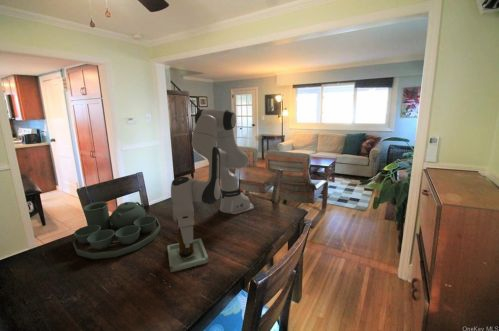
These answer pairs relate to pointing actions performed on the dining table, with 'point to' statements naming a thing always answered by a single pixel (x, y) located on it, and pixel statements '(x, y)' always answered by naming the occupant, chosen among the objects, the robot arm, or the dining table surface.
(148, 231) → the tea set
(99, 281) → the dining table surface
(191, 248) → the condiment
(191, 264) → the tray
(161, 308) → the dining table surface
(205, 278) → the dining table surface
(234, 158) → the robot arm
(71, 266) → the dining table surface
